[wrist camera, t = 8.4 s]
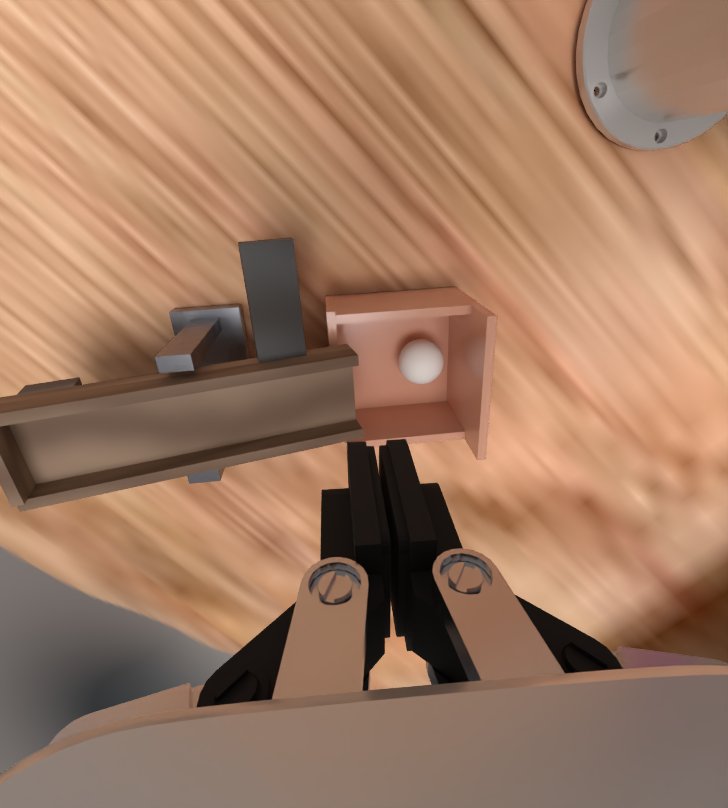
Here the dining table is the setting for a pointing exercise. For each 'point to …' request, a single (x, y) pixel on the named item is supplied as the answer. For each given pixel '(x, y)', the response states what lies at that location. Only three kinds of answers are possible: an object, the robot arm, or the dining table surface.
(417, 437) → the cup
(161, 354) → the stand
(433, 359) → the ball
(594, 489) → the dining table surface
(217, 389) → the lever
